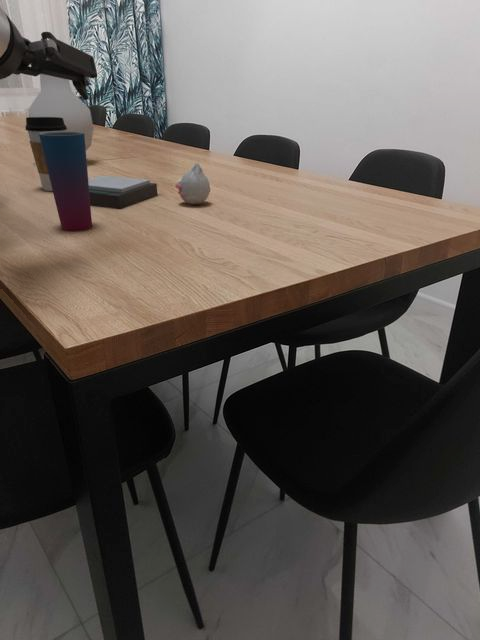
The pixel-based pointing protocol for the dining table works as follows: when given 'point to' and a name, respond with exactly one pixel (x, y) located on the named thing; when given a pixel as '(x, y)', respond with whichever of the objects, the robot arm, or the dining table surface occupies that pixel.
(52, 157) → the cup
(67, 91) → the vase
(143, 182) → the scale
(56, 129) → the coffee cup
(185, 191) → the figurine
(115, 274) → the dining table surface
